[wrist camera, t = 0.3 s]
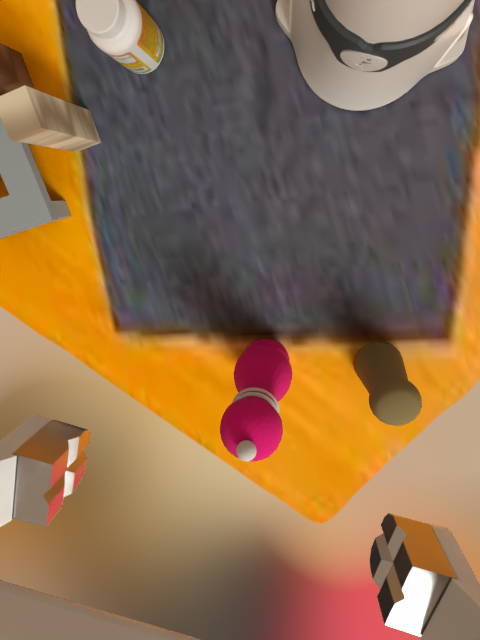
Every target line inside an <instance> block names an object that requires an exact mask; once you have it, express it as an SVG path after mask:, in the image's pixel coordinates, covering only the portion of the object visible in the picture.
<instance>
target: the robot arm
mask: <svg viewBox="0 0 480 640" xmlns="http://www.w3.org/2000/svg"><path fill="white" fill-rule="evenodd" d="M474 1H475V0H277V3H276V9H275V16H276V19H277V22H278V24H279V25H280V27H281V28H282V30H283V31H284V32H285V34H286V35H287V36H288V37H289V39H290V40H291V42H292V44H293V47H294V50H295V54H296V58H297V62H298V65H299V68H300V70H301V73H302V75H303V77H304V79H305V80H306V82H307V83H308V85H309V86H310V88H311V89H312V90H313V91H314V92H315V93H316V94H317V95H318V96H319V97H320V98H322V99H323V100H325V101H326V102H328V103H330V104H332V105H334V106H336V107H339V108H342V109H347V110H358V111H359V110H369V109H374V108H378V107H381V106H384V105H386V104H388V103H390V102H392V101H394V100H396V99H398V98H399V97H401V96H402V95H403V94H405V93H406V92H407V91H409V90H410V89H411V88H412V87H413V86H414V85H415V84H416V83H417V82H418V81H420V80H421V79H422V78H423V77H424V76H426V75H427V74H429V73H431V72H434V71H436V70H439V69H441V68H443V67H446V66H448V65H450V64H451V63H453V62H454V61H456V60H457V59H458V57H459V56H460V55H461V54H462V52H463V50H464V47H465V44H466V39H467V34H468V30H469V25H470V23H471V21H472V18H473V13H472V11H473V6H474ZM89 440H90V432H89V430H87V429H84V428H80V427H77V426H74V425H70V424H67V423H64V422H61V421H57V420H53V419H50V418H47V417H43V416H39V415H34V416H31V417H30V418H28V419H27V420H26V421H25V422H23V423H22V424H21V425H19V426H18V427H17V428H16V429H14V430H13V431H12V432H10V433H9V434H8V435H7V436H5V437H4V438H3V439H2V440H0V527H1V526H2V525H4V524H6V523H8V522H10V521H11V520H12V518H13V519H17V520H21V521H25V522H29V523H33V524H37V525H40V526H45V527H46V526H47V525H48V524H49V523H50V521H51V520H52V518H53V517H54V516H55V515H56V514H57V512H58V511H59V510H60V508H61V507H62V502H63V497H65V496H67V495H70V494H72V493H73V491H74V490H75V489H76V487H77V486H78V484H79V482H80V480H81V478H82V476H83V474H84V471H85V467H86V462H87V456H86V454H85V452H84V449H85V448H86V447H87V446H88V444H89ZM381 526H382V530H383V534H382V535H380V536H378V537H376V538H375V540H374V543H373V545H372V548H371V555H370V567H371V573H372V577H373V580H374V581H375V582H376V584H377V585H378V586H379V587H380V592H379V594H378V596H377V597H378V601H379V605H380V609H381V613H382V617H383V621H384V624H385V625H387V626H390V627H393V628H396V629H399V630H402V631H405V632H408V633H411V634H414V635H417V636H421V640H480V584H479V582H478V580H477V578H476V576H475V574H474V573H473V571H472V569H471V567H470V565H469V563H468V562H467V560H466V558H465V556H464V554H463V553H462V551H461V549H460V547H459V545H458V543H457V541H456V539H455V538H454V536H453V534H452V532H451V531H450V530H448V529H447V528H445V527H441V526H437V525H433V524H429V523H422V522H419V521H415V520H412V519H408V518H404V517H401V516H397V515H393V514H390V513H388V514H387V515H386V516H385V517H384V519H383V522H382V524H381ZM0 640H200V639H197V638H193V637H190V636H187V635H183V634H180V633H177V632H173V631H170V630H166V629H163V628H160V627H156V626H153V625H150V624H146V623H143V622H139V621H136V620H132V619H129V618H126V617H123V616H119V615H116V614H112V613H109V612H106V611H102V610H99V609H96V608H92V607H89V606H86V605H82V604H79V603H75V602H72V601H68V600H66V599H62V598H59V597H55V596H52V595H49V594H45V593H42V592H39V591H35V590H32V589H28V588H25V587H21V586H18V585H15V584H11V583H8V582H5V581H2V580H0Z"/></svg>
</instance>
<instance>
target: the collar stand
mask: <svg viewBox="0 0 480 640" xmlns="http://www.w3.org/2000/svg"><path fill="white" fill-rule="evenodd" d="M0 174H1V177H2V179H3V181H4V184H5V186H6V188H7V191H8V193H9V195H8V196H5V197H2V198H0V239H2V238H5V237H6V236H9V235H12V234H15V233H19V232H22V231H25V230H28V229H31V228H34V227H37V226H40V225H43V224H46V223H49V222H52V221H57V220H61V219H64V218H67V217H70V216H71V214H70V212H69V209H68V207H67V204H66V202H65V201H51V199H50V197H49V194H48V192H47V189H46V187H45V184H44V182H43V179H42V177H41V175H40V172H39V170H38V167H37V165H36V162H35V160H34V157H33V155H32V152H31V150H30V147H29V145H28V143H23V142H18V141H12V140H10V139H9V136H8V134H7V131H6V129H5V127H4V124H3V122H2V119H1V117H0Z"/></svg>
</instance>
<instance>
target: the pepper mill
mask: <svg viewBox="0 0 480 640" xmlns="http://www.w3.org/2000/svg"><path fill="white" fill-rule="evenodd" d="M234 380H235V385H236V388H237V391H238V392H239V393H238V394H237V395H236V396H235V398H234V399H233V402H232V404H231V405H230V406H229V407H228V408H227V409H226V411H225V412H224V414H223V416H222V420H221V425H220V434H221V439H222V441H223V443H224V446H225V447H226V448H227V450H228V451H229V452H230V453H231V454H233V455H234V456H235V457H237V458H240V459H241V460H242V461H259V460H262V459H265V458H267V457H268V456H270V455H271V454H272V453H273V452H274V451H275V450H276V449H277V447H278V445H279V443H280V441H281V438H282V433H283V428H282V420H281V418H280V416H279V404H278V401H279V400H281V399H282V398H283V397H284V395H285V394H286V393H287V391H288V389H289V387H290V384H291V380H292V369H291V365H290V363H289V356H288V353H287V351H286V349H285V348H284V347H283V346H282V345H281V344H280V343H278V342H276V341H274V340H270V339H260V340H257V341H254V342H252V343H251V344H250V345H249V346H248V347H247V348H246V350H245V352H244V353H243V354H242V355H241V356H240V357H239V359H238V360H237V363H236V366H235V371H234Z"/></svg>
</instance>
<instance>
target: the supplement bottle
mask: <svg viewBox="0 0 480 640" xmlns="http://www.w3.org/2000/svg"><path fill="white" fill-rule="evenodd" d="M76 10H77V14H78V17H79V19H80V21H81V23H82V24H83V26H84V27H85V28H86V29H87V31H88V33H89V35H90V37H91V39H92V41H93V42H94V43H95V44H96V45H97V46H98V47H99V48H100V49H101V50H102V51H104V52H105V53H107V54H108V55H109V56H111V57H112V58H114V59H115V60H116V61H118V62H119V63H121V64H122V65H123V66H125V67H126V68H128V69H129V70H131V71H133V72H135V73H138V74H146V73H150V72H152V71H153V70H155V69H156V68H157V67H158V65H159V64H160V62H161V60H162V58H163V54H164V39H163V35H162V32H161V30H160V28H159V27H158V25H157V24H156V23H155V21H154V20H153V19H152V18H151V17H150V16H149V15H148V13H147V12H146V11H145V10H144V9H143V8H142V6H141V5H140V4H139V3H138V2H137V1H136V0H76Z"/></svg>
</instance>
